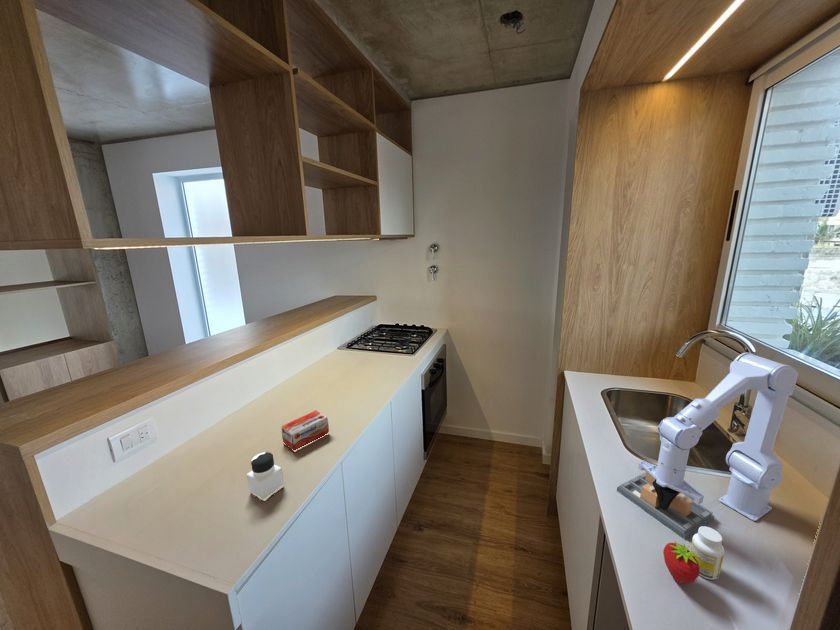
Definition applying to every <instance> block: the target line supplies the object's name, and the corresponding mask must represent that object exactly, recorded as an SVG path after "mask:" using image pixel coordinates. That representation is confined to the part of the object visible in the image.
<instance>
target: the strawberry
mask: <svg viewBox="0 0 840 630" xmlns="http://www.w3.org/2000/svg"><path fill="white" fill-rule="evenodd" d="M689 547H690V545H688V546H686V543H684V544H683V545H682V544H681V543H678V542H677V541H676V540H674V542H668V543H666V544H665V546H664V548H663V550H662V552H663V553H662V554H663V558H664V563H665V566H666V568H667V569H668V572H669V573H670V575H671V576H672V578H673V580H674V581H675V582H676V583H679V584H680V583H681V584H690V583H694V582H695V581H696V580H697V579H698V578H699V577H700V575H699V573H700V572H699V564H698V562H697V560H696V558H695V557H699V556H697V555H695V554H694V553H692V552H690V550H689V549H688V548H689ZM694 556H695V557H694ZM699 558H700V557H699Z"/></svg>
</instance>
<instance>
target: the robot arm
mask: <svg viewBox="0 0 840 630" xmlns="http://www.w3.org/2000/svg"><path fill="white" fill-rule="evenodd" d="M798 377H799V372H798V371H797V370H796V369H795V368H794V367H793V366H791V365H788V364H783V363H781V362H777V361H775V360H771V359H768V358H765V357H762V356H759V355H755V354H754V353H752V352H743V353H741V354H739V355H737V356H736V357H735V358H734V360H733V361H731V362H730V364H729V373H728V374H727V375H726V376H725V377H724V378H723V379H722V380H721V381H720V382H718V384H717V385H715V387H714V388H713V389H711V391H710V392H709V393H708V394H707V395H706V396H705V397H704V398H694V400H692V401H691V402H690V403H689V404H687V405H686V406H685V407H684V408H682V409H681V410H680V411H679V412H678V413H676V415H674V416H669V417H664V418H663V419H662V420H661V421H660V423H659V425H657V426H656V428H657V429H656V430H657V432H658V434H659V440H660V448H659V454H658V460H657V465H655V464H652V463H649V462H647V461H646V460H644V459H643V460H642V461H640V462H638V467H637V468H638V469H639V470H640V471H645V473H646V472H648V473H649V474H651V475H652V476H653V477H654V478H655V481H653V483H652V485H653V487H654V488H655V491H656V493H657V496H658V501H659V507H660V508H662V509H663V510H666V509H667V508H669V506H670V504H671V502H672V501H673V499H674V498H675V497H676V496H677V495H678V494H679V493H682V494H684V495H685V496H687V497H689V498H690V499H692V500H694V501H693V502H694V503H696V504H697V505H699V504H700V505H702V503H703V502H704V498H705V497H704V495H703V494H702V493H700V492H699V491H697V490H696V489H695V488H694V487H693V486H691V485H690V484H689V483H688V482H687V481H685V476H686V471H687V470H686V469H687V464H688V459H689V455H690V450H691V449H692V448H693V447H695V446H696V445H697V444H698V443H699V440H700V438H701V437H702V435H703V430H705V429H706V428H708V426H710V425H712V423H713V422H715V421H716V420H717V419H718V418H720V409H722V408H723V407H724V406H726V405H727V404H728V403H730V402H732V401H733V400H734V399H736V398H737V397H739V396H740V395H742V394H744V393H745V392H747V391H757V393H756V397H755V401H754V404H753V408H752V412H751V416H750V418H749V423H748V425H747V430H746V433H745V436H744V441H737V442H735V443H732V445H731V446H732V447H730V450H729V451H728V452H726V453H727V454H726V455H725V463H726V464H727V465H728V467H729V469H728V470H729V471H730V472H731V475H730V481H729V482H728V488H727V492H726V494H724V495H723V496H720V497H719V498H718V501H719V502H720V503H722V504H724V505H725V506H727V507H729V508H731V509H732V510H734V511H736V512H738V513H739V514H741V515H742V516H744V517H746V518H747V519H750V520H751V521H753V522H757V521H759V520H760V519H761V518H762V517H763V516H765V515H766V514H767V513H769V512H770V511H772V509H773V507H772V506H771V505H769V504H768V503H769V500H770V498H771V493H772V490H773V489H776V488H777V487H778V486H780V484H781V483H782V481H783V477H784V476H783V471H782V470H783V466H784V464H783V462H782V461H781V460H780V458H779V457H778V456H777V455H776V453H775V452H774V451H773V449H774V446H775V442H776V439H777V436H778V432H779V430H780V426H781V423H782V420H783V417H784V413H785V409H786V406H787V403H788V399H789V396H790V397H791V396H792V395H793V394H794V390H795V387H796V384H797V380H798Z"/></svg>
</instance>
